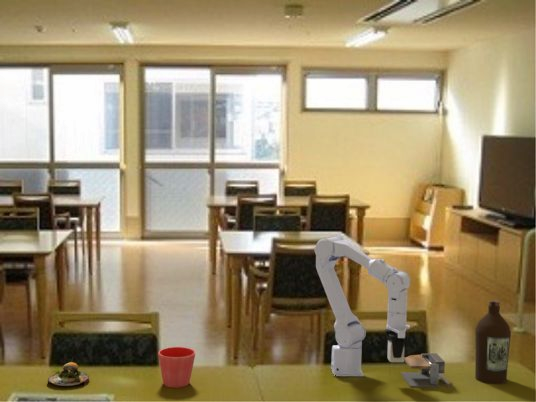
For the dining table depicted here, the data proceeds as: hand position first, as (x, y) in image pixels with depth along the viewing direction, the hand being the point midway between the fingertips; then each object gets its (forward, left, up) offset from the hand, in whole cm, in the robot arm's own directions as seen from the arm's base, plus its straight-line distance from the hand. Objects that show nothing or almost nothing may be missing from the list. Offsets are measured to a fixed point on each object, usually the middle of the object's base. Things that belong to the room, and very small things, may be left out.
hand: (395, 355), depth 213 cm
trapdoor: (+10, +3, -5) cm, 11 cm away
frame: (+13, +3, -9) cm, 16 cm away
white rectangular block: (0, 0, +1) cm, 1 cm away
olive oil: (+32, +4, -9) cm, 33 cm away
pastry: (+13, +19, -9) cm, 24 cm away
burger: (-98, -3, -9) cm, 99 cm away
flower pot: (-66, -3, -9) cm, 67 cm away
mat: (+9, +3, -9) cm, 13 cm away
